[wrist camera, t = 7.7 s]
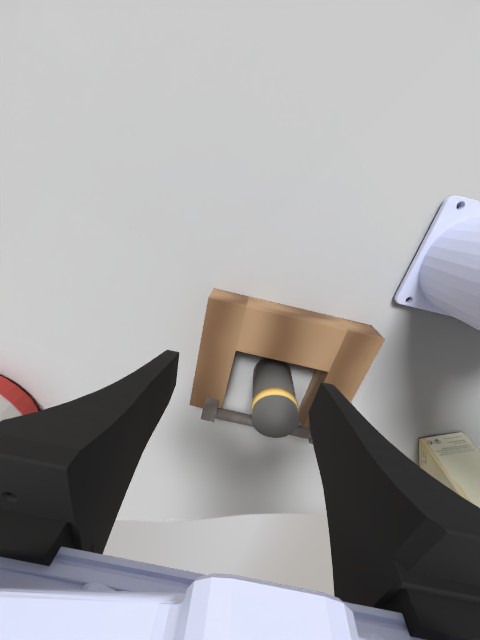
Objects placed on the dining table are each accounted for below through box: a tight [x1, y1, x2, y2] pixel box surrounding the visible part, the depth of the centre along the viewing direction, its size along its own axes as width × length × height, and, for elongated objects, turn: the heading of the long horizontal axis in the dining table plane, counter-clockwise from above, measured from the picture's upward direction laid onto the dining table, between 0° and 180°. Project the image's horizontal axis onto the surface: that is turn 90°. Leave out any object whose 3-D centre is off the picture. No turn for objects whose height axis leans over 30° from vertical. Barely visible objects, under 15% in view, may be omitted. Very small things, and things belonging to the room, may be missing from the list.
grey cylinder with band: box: [252, 358, 300, 438], centre depth 22 cm, size 4×4×6 cm
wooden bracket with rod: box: [190, 289, 385, 444], centre depth 22 cm, size 14×11×4 cm
